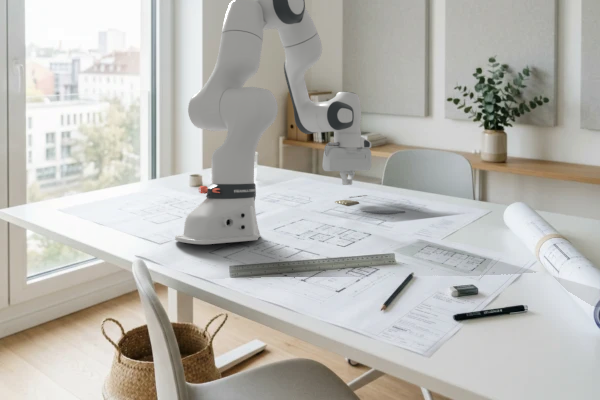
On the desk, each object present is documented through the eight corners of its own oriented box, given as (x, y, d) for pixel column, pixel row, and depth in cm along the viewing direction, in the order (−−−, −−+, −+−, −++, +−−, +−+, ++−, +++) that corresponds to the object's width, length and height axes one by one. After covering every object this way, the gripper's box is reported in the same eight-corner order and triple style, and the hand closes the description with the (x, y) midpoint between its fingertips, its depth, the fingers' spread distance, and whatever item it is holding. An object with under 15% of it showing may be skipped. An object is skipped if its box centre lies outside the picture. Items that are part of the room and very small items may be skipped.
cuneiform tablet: (352, 197, 191) (326, 196, 200) (352, 211, 192) (326, 209, 201) (367, 195, 196) (341, 194, 205) (367, 209, 196) (341, 207, 205)
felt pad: (386, 214, 181) (386, 213, 181) (360, 212, 188) (360, 210, 188) (405, 212, 187) (405, 211, 187) (379, 210, 194) (379, 208, 194)
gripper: (332, 141, 187) (332, 186, 188) (374, 142, 201) (374, 184, 202) (318, 142, 191) (318, 185, 192) (360, 143, 205) (360, 183, 206)
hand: (347, 184), depth 197 cm, fingers closed
